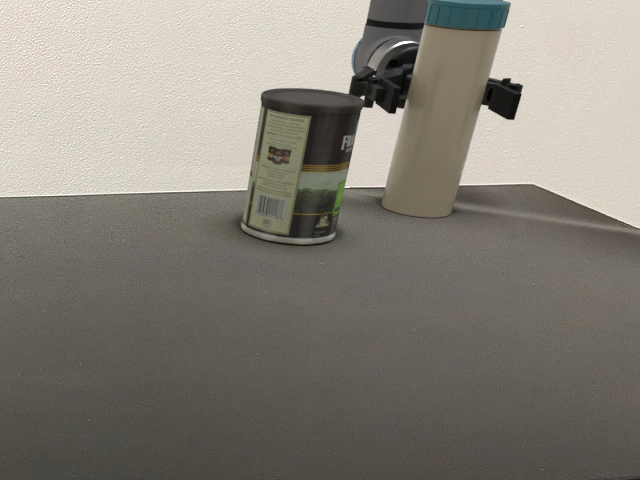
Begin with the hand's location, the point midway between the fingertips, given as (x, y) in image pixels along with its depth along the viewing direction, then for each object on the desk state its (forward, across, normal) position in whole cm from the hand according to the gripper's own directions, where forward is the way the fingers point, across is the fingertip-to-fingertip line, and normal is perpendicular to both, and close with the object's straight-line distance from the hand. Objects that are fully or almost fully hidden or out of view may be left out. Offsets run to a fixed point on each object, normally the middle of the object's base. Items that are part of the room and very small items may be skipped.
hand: (454, 104), depth 107 cm
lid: (-4, 0, +10) cm, 10 cm away
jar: (-4, 0, -13) cm, 13 cm away
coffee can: (+9, +17, -13) cm, 23 cm away
